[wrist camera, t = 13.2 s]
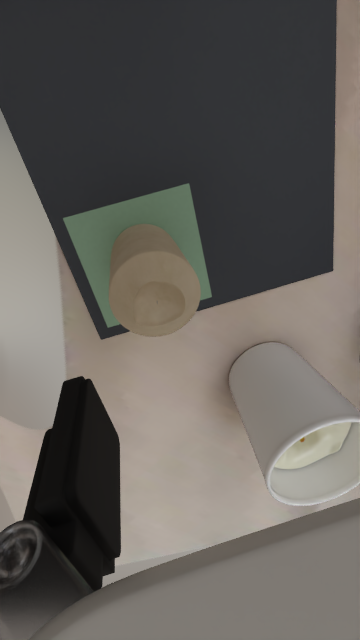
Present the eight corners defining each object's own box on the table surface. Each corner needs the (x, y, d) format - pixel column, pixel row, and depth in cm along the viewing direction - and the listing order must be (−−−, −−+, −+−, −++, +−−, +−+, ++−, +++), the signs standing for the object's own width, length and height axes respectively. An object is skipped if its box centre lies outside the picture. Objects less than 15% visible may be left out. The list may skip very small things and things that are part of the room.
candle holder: (202, 381, 34) (241, 483, 23) (270, 317, 31) (347, 398, 21) (257, 418, 38) (311, 519, 27) (320, 365, 36) (405, 452, 25)
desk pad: (-74, -64, 16) (-76, -66, 16) (336, -160, 17) (338, -163, 17) (101, 338, 29) (101, 339, 29) (331, 270, 30) (333, 270, 30)
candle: (132, 298, 28) (140, 364, 19) (97, 243, 25) (87, 291, 16) (187, 268, 27) (221, 321, 18) (158, 209, 24) (180, 239, 16)
